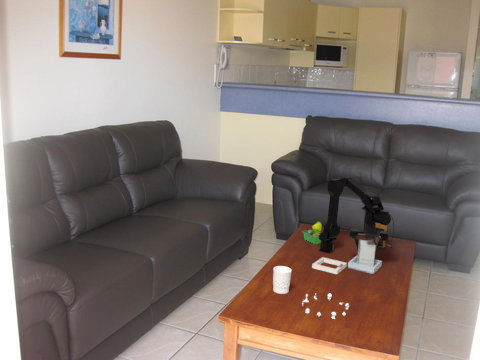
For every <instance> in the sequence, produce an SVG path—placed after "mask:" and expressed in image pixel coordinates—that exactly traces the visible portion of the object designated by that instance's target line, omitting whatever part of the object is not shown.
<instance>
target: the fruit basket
mask: <svg viewBox="0 0 480 360" xmlns="http://www.w3.org/2000/svg"><path fill="white" fill-rule="evenodd" d="M322 227H323V225H322V222H320V221H316V222H315V224H313V225H312V226H311V229H308V230H307V229H305V230H302V234H303V239H304V241H306V240H307V241H306V242H308V241H309V243H310V242H311V244H312V243H313V244H312V245H318V244H321V240H319V235H320V234H321V233H322Z"/></svg>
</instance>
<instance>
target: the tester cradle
mask: <svg viewBox="0 0 480 360" xmlns="http://www.w3.org/2000/svg"><path fill="white" fill-rule="evenodd" d="M324 263H326V264H330V265H334V266H337V267H336V268H334V267H330V266H327V265H326V266H325V265H322V264H324ZM311 268H312V269H314V270H319V271H323V272H326V273H330V274H334V275H339V273H341V272H342V271H343V270H344V269H346V268H348V262H344V261H341V260H337V259H332V258H328V257H325V256H322V257H320V258H319V259H318V260H316V261H315V262H313V263H312V264H311Z"/></svg>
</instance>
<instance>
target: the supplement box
mask: <svg viewBox="0 0 480 360" xmlns="http://www.w3.org/2000/svg"><path fill="white" fill-rule="evenodd" d="M375 255H376V245H375V243H374V241H373V240H372V239H358V250H357V255H356V256H357V264H361V265H365V266H370V267H373V266H374V259H375V257H376V256H375Z"/></svg>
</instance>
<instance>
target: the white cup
mask: <svg viewBox="0 0 480 360" xmlns="http://www.w3.org/2000/svg"><path fill="white" fill-rule="evenodd" d="M272 271H273V272H272V287H273V288H272V290H273V292H274V293H276V294H280V295H284V294H288V293H289V289H290V284H291V277H292V272H293V270H292V269H291V268H290V267H288V266H284V265H277V266H273V270H272Z"/></svg>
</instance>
